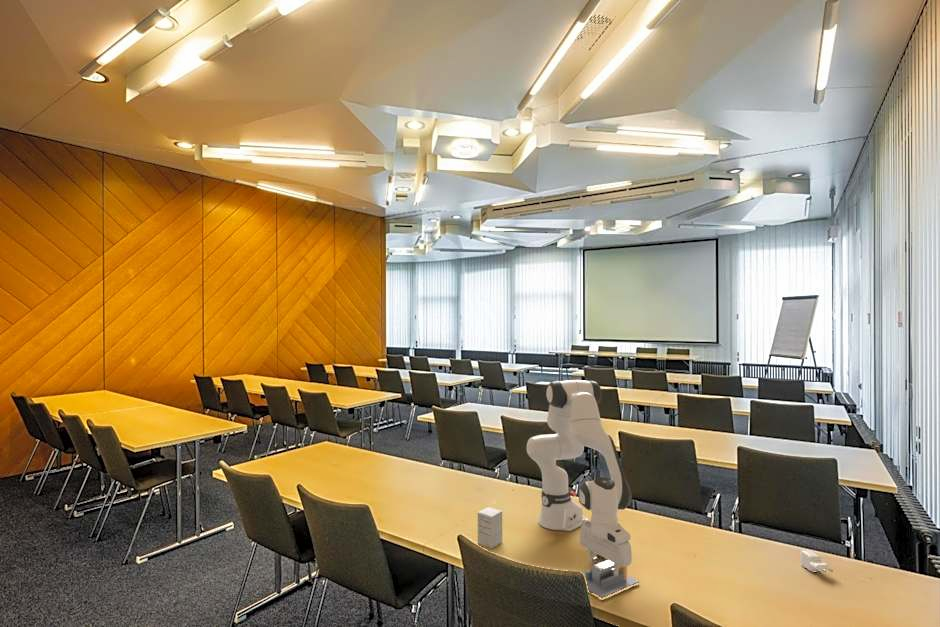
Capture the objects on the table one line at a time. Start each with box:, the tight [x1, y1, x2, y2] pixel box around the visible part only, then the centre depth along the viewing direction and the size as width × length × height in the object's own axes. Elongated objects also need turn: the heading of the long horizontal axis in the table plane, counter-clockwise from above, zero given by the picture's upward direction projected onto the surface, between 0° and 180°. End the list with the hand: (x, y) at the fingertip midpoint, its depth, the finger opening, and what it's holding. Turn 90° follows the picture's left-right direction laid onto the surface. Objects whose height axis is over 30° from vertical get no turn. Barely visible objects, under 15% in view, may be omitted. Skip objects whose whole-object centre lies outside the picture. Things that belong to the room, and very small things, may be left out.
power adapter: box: [799, 549, 834, 573], centre depth 179 cm, size 11×5×6 cm, turn 6°
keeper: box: [582, 558, 640, 598], centre depth 171 cm, size 18×14×7 cm
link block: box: [591, 560, 615, 585], centre depth 171 cm, size 8×4×5 cm, turn 123°
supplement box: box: [477, 506, 503, 549], centre depth 201 cm, size 7×7×13 cm
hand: (604, 568), depth 171 cm, fingers open, 8 cm apart
